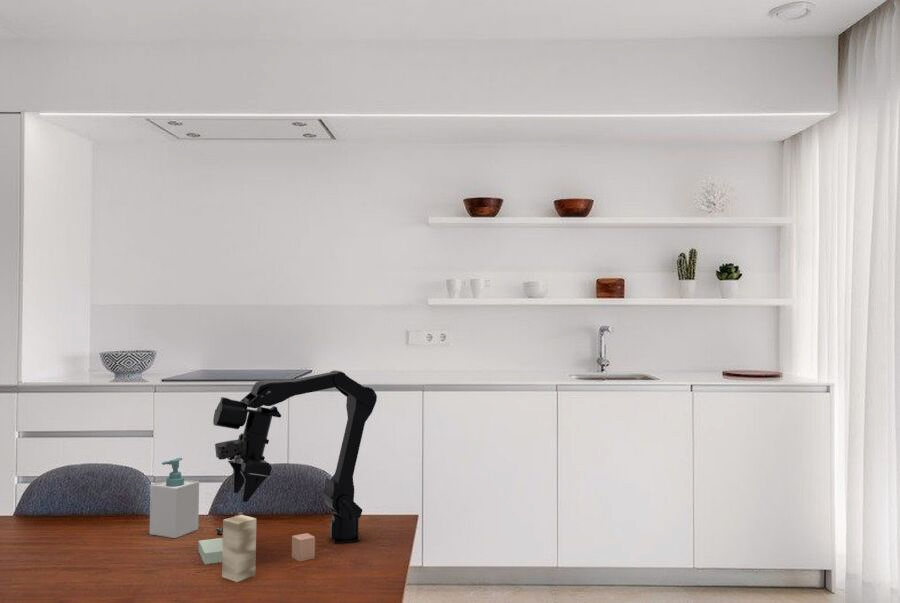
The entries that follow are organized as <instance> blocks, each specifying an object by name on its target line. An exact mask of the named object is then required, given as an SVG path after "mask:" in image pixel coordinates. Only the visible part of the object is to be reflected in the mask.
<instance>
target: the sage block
mask: <svg viewBox="0 0 900 603" xmlns="http://www.w3.org/2000/svg"><path fill="white" fill-rule="evenodd" d="M198 553H200V554H199V555H200V558H201V560H202V563H203V562H204V563H203V564H204V565H211V563H212V564H217V563H218V562H219V563H222V558H223V537H218V538H217V537H216V538H211V539H202V540H198Z"/></svg>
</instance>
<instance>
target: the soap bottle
mask: <svg viewBox="0 0 900 603" xmlns="http://www.w3.org/2000/svg"><path fill="white" fill-rule="evenodd" d="M182 460H183V457H176V458H175V459H171V460H167V461H162V463H161V464H162V466H164V465H170V466H171V468H172V471H171V472H169V474H168V475H169V477H167V478H166V479H165V480H163V481H160V482H156V483H151V484H150V497H149V499H150V500H149V502H150V503H149V535H152V536H153V535H154V536H159V537H165V538H171V539H177V538H179V537H182V536H185V535H187V534H191V533H193V532H195V531H198V530H199V513H200V512H199V511H200V507H199V504H200V481H199V480H191V479H185V477H184V476H182V472H181V471H178V470H179V468H180V461H182Z"/></svg>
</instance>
